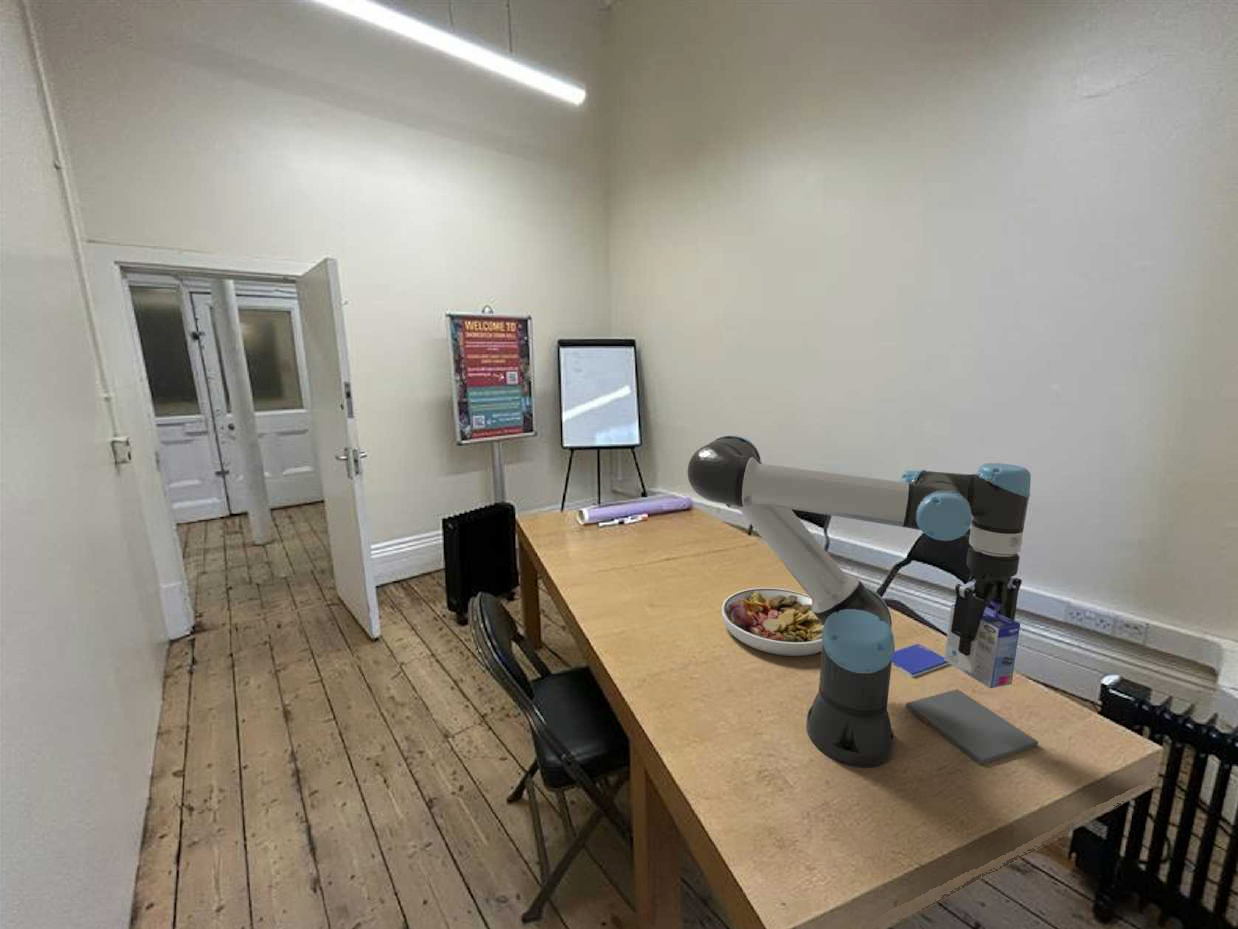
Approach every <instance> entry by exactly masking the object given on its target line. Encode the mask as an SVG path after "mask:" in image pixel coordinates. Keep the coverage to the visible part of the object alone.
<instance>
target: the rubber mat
mask: <svg viewBox="0 0 1238 929" xmlns="http://www.w3.org/2000/svg"><path fill="white" fill-rule="evenodd" d="M905 708H906V709H907V710H908V711H910V712H911V713H912V714H913V715H915V716H916V717H917V718H919V719H920V720H921V721H923V722H924V723H925V724H927V725H928V726H930V728H932V729H933V730H934V731H936V732H937V733H939V735H941V736H942V737H944V738H945V739H946V740H947V741H949V742H950V743H952V745H954V746H955V747H956V748H958V749H959V750H961V751H962V752H963V753H964V754H966V755H967V756H969V757H970V758H971V759H972V760H973V761H975V762H976V763H977V764H979V765H981V766H982V765H986V764H989V763H992V762H994V761H998V760H1000V759H1003V758H1006V757H1009V756H1012V755H1015V754H1018V753H1021V752H1023V751H1027V750H1029V749H1033V748H1036V747H1038V745H1039V741H1038V740H1037V739H1035V738H1034V737H1032V736H1031V735H1029V734H1028V733H1026V732H1024V730H1021V729H1020V728H1018V727H1017V726H1016V725H1014V724H1012V723H1010V721H1008V720H1006V719H1005V718H1003V717H1001V715H998V714H997V713H995V712H993V711H992V710H990V709H989V708H987V707H986V706H984V705H983V704H981V703H980V702H978V701H976V700H975V699H974V698H973V697H971V696H969V695H968V694H966V693H965V692H963V691H962V690H960V689H958V688H956V689H954V690H953V689H952V690H950V691H946V692H942V693H938V694H935V695H932V696H928V697H924V698H920V699H916V700H914V701H913V700H912V701H910V702H906V703H905Z"/></svg>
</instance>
